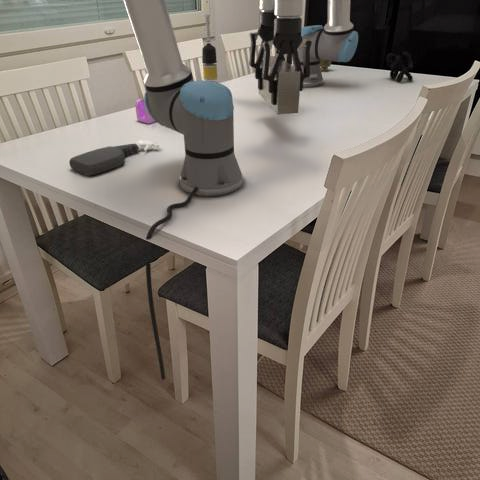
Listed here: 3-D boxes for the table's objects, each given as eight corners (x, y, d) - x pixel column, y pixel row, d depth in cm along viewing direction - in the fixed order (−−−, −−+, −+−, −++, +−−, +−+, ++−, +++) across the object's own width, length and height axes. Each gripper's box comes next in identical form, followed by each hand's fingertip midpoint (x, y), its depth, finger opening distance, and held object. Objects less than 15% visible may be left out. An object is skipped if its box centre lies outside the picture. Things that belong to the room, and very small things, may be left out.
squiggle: (400, 92, 202) (376, 71, 205) (417, 76, 202) (392, 56, 205) (405, 81, 191) (380, 59, 194) (423, 64, 191) (397, 42, 194)
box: (298, 113, 131) (300, 71, 125) (277, 114, 130) (278, 72, 124) (276, 92, 153) (277, 55, 147) (258, 93, 152) (258, 56, 146)
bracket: (148, 123, 152) (145, 102, 148) (137, 120, 155) (134, 100, 151) (175, 114, 161) (173, 94, 157) (164, 111, 164) (162, 92, 160)
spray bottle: (67, 168, 120) (139, 144, 136) (91, 178, 114) (163, 151, 130) (65, 157, 118) (137, 134, 134) (89, 167, 112) (162, 142, 128)
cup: (314, 71, 219) (315, 53, 215) (319, 68, 225) (320, 51, 220) (329, 72, 216) (330, 54, 212) (333, 69, 222) (335, 52, 217)
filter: (220, 99, 177) (217, 15, 161) (206, 100, 176) (202, 16, 160) (215, 96, 182) (212, 14, 166) (202, 97, 180) (197, 14, 164)
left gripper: (317, 14, 125) (312, 97, 137) (250, 16, 122) (250, 101, 134) (326, 17, 119) (320, 104, 131) (256, 19, 116) (255, 108, 128)
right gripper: (298, 8, 140) (295, 84, 153) (238, 10, 138) (239, 87, 150) (305, 10, 134) (301, 89, 146) (242, 13, 131) (243, 92, 144)
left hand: (284, 102), depth 133 cm, fingers closed on box, 6 cm apart
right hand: (270, 88), depth 148 cm, fingers closed on box, 6 cm apart
